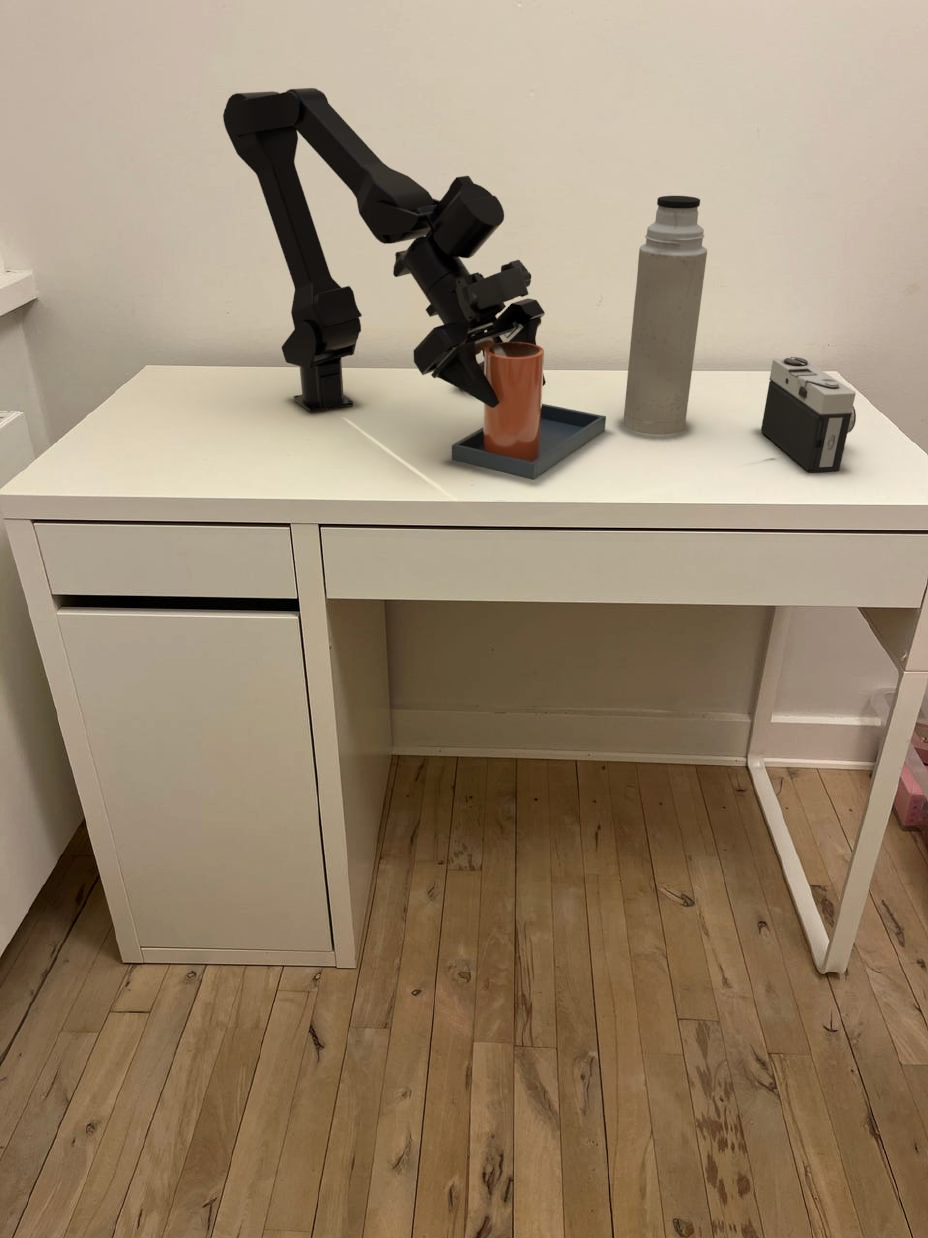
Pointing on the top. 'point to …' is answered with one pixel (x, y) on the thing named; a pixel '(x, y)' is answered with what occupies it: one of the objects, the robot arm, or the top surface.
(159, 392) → the top surface
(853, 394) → the camera
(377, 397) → the top surface
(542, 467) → the tray
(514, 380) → the tumbler
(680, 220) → the thermos bottle
